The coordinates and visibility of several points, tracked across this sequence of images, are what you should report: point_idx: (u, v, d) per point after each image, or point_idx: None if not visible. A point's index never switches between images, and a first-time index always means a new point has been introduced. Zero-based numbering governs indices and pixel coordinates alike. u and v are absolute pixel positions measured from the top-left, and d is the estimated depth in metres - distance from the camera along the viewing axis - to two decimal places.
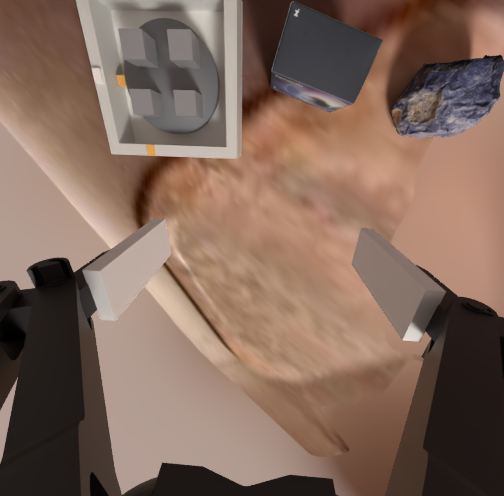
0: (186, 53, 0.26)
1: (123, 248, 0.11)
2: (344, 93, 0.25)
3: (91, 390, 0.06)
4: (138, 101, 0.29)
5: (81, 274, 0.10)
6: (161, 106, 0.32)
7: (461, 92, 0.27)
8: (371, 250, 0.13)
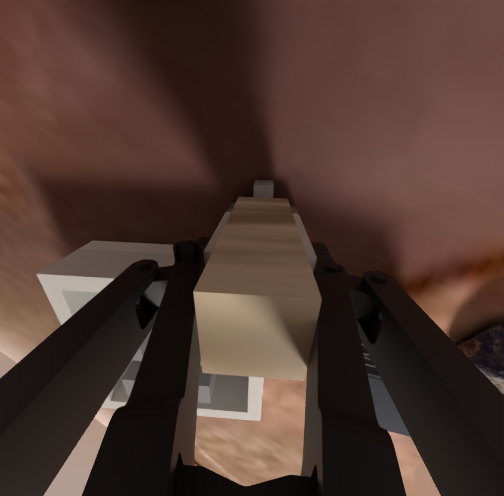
0: None
1: None
2: None
3: (193, 367, 0.06)
4: None
5: None
6: None
7: None
8: None
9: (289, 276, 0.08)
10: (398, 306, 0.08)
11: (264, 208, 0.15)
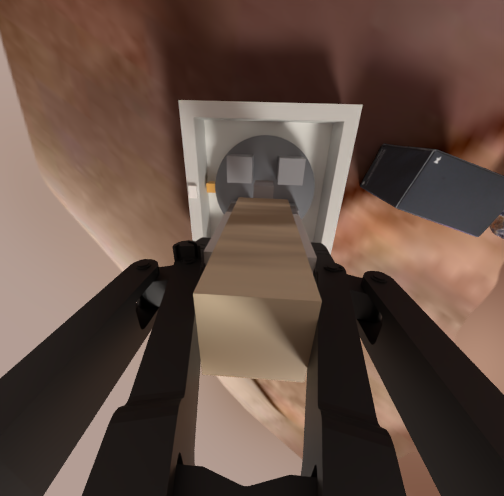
0: (296, 179, 0.25)
1: None
2: (471, 228, 0.24)
3: (193, 367, 0.06)
4: None
5: None
6: None
7: None
8: None
9: (289, 277, 0.08)
10: (398, 306, 0.08)
11: (264, 209, 0.15)
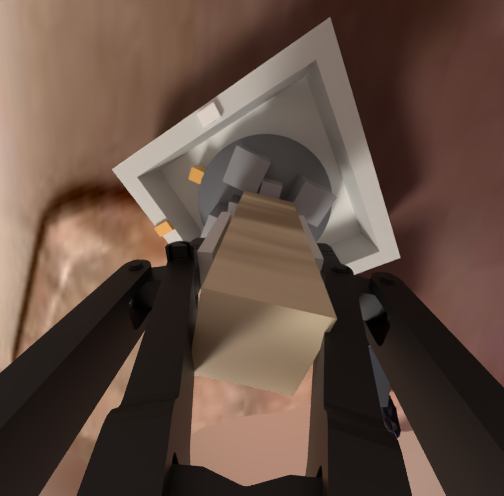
0: (314, 217, 0.18)
1: (216, 235, 0.12)
2: None
3: (187, 367, 0.06)
4: None
5: None
6: None
7: None
8: None
9: (301, 287, 0.07)
10: (406, 308, 0.08)
11: (271, 208, 0.15)
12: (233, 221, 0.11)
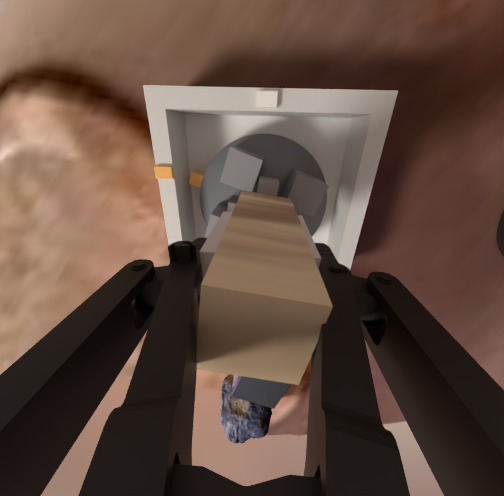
0: (309, 207, 0.19)
1: (218, 235, 0.13)
2: (238, 391, 0.28)
3: (189, 367, 0.06)
4: None
5: None
6: None
7: (245, 428, 0.36)
8: None
9: (298, 278, 0.08)
10: (403, 307, 0.08)
11: (269, 205, 0.15)
12: (231, 220, 0.11)
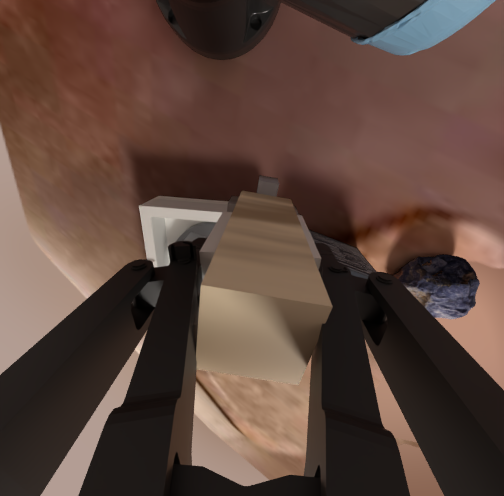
0: None
1: (218, 235, 0.13)
2: None
3: (189, 367, 0.06)
4: None
5: None
6: None
7: (445, 300, 0.34)
8: None
9: (298, 279, 0.08)
10: (403, 307, 0.08)
11: (268, 206, 0.15)
12: (231, 221, 0.11)
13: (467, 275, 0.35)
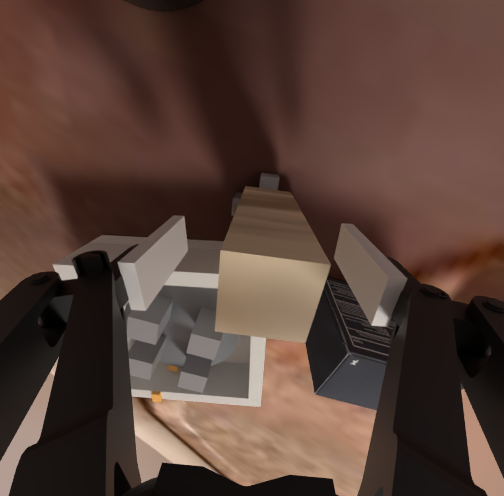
0: (151, 328, 0.20)
1: (151, 242, 0.11)
2: None
3: (120, 379, 0.06)
4: (191, 384, 0.24)
5: (114, 266, 0.11)
6: None
7: None
8: (349, 244, 0.13)
9: (301, 247, 0.09)
10: None
11: (271, 197, 0.16)
12: (239, 208, 0.13)
13: None
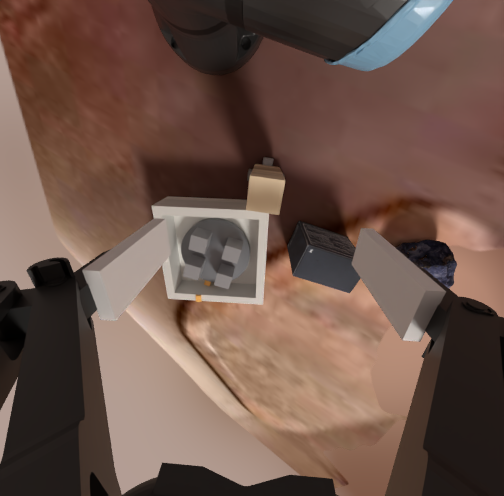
0: (203, 242, 0.37)
1: (123, 248, 0.11)
2: (343, 288, 0.36)
3: (91, 390, 0.06)
4: (222, 283, 0.40)
5: (81, 274, 0.10)
6: (228, 266, 0.42)
7: None
8: (371, 250, 0.13)
9: (277, 177, 0.26)
10: None
11: (268, 167, 0.33)
12: (253, 169, 0.29)
13: (447, 257, 0.39)
